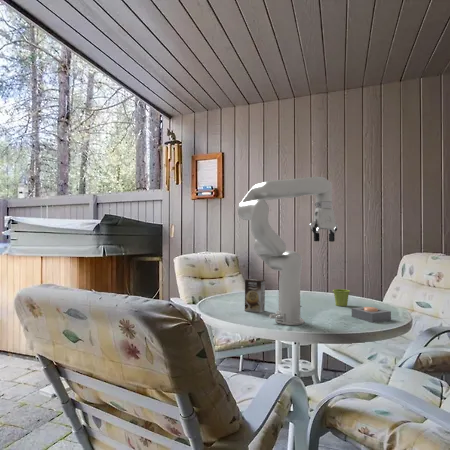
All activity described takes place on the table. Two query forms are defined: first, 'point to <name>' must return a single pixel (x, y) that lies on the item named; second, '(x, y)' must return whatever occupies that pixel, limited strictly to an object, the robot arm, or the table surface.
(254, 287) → the coffee box
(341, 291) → the plant pot
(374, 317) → the button box
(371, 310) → the push button
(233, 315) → the table surface
